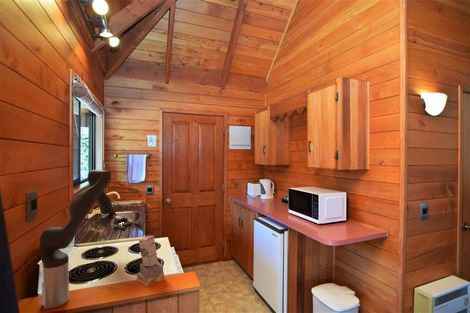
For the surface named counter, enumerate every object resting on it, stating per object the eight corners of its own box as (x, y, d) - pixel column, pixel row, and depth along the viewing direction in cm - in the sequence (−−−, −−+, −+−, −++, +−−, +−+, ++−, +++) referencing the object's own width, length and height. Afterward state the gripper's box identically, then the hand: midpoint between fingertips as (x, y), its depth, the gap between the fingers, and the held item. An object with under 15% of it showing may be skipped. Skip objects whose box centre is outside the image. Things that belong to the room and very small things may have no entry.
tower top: (145, 279, 123) (145, 271, 123) (140, 272, 130) (140, 265, 130) (163, 273, 129) (163, 266, 129) (157, 267, 136) (156, 260, 136)
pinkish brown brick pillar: (158, 262, 131) (154, 235, 132) (150, 267, 126) (146, 238, 126) (150, 261, 134) (146, 235, 134) (142, 266, 128) (138, 239, 129)
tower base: (146, 287, 123) (146, 279, 123) (137, 280, 129) (137, 273, 129) (164, 280, 130) (164, 272, 130) (154, 274, 137) (154, 267, 137)
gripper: (107, 218, 143) (119, 223, 132) (131, 214, 153) (144, 218, 143) (107, 231, 143) (119, 237, 132) (131, 227, 153) (144, 231, 142)
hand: (132, 227), depth 137 cm, fingers open, 8 cm apart
